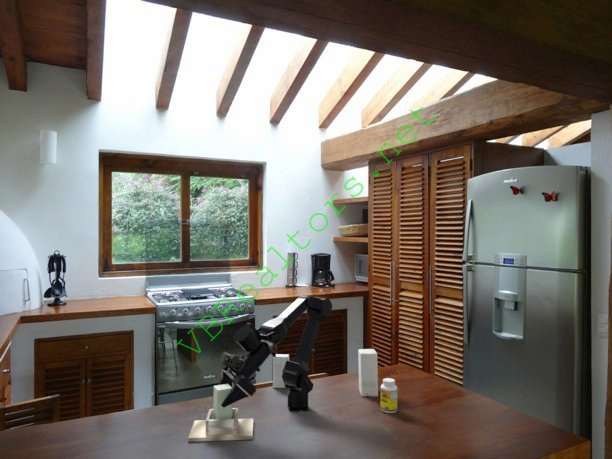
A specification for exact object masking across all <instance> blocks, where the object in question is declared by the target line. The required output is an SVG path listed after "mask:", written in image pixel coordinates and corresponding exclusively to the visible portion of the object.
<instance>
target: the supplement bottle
mask: <svg viewBox="0 0 612 459" xmlns="http://www.w3.org/2000/svg"><path fill="white" fill-rule="evenodd" d="M380 410H381V412H383V413H386V414H394V413H397V411H398V386H397V384H396V380H395V379H394V378H391V377H385V378H383V379H382V384H381V385H380Z"/></svg>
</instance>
